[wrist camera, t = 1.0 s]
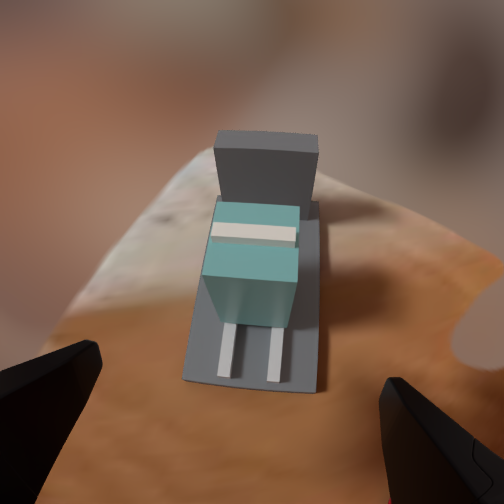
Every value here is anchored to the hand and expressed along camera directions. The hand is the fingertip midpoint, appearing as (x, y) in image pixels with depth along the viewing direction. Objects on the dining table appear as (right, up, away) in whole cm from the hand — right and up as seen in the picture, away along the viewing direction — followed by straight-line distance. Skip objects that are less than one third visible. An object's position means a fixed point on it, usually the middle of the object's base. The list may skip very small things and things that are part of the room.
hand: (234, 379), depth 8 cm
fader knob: (+1, 0, +14) cm, 14 cm away
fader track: (+1, +1, +16) cm, 16 cm away
